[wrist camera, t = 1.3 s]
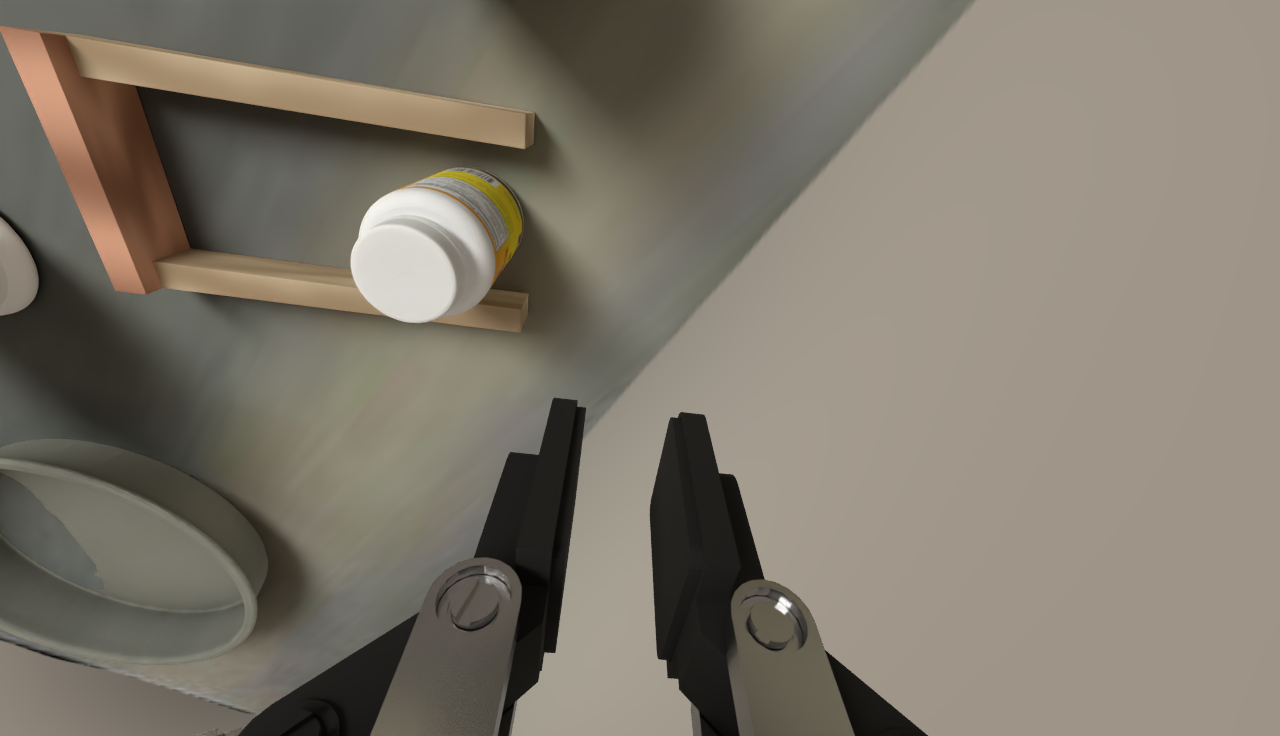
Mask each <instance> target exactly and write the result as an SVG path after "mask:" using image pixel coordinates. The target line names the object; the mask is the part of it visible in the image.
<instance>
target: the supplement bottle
mask: <svg viewBox="0 0 1280 736" xmlns="http://www.w3.org/2000/svg"><path fill="white" fill-rule="evenodd" d="M523 232H524V218H523V213H522V209H521V206H520V204H519V201H518V199H517V198H516V196H515V194H514V193H513V191H512V190H511V189H510V188H509V186H508V185H507V184H506V183H504V182H503V181H502V180H501V179H500V178H498V177H497V176H496V175H494V174H492V173H490V172H488V171H486V170H483V169H480V168H476V167H470V166H460V167H455V168H451V169H447V170H445V171H442V172H440V173H437V174H435V175H432V176H430V177H427V178H425V179H422V180H420V181H417V182H415V183H412V184H410V185H407V186H405V187H402V188H400V189H397V190H395V191H393V192H391V193H389V194H387V195H385V196H383V197H382V198H380V199H379V200H378V201H376V202H375V203H374V204H373V205H372V206H371V207H370V209H369V210H368V211H367V213H366V214H365V216H364V218H363V221H362V224H361V227H360V231H359V239H358V240H357V242H356V243H355V245H354V248H353V250H352V254H351V271H352V275H353V278H354V281H355V283H356V285H357V287H358V289H359V291H360V292H361V294H362V295H363V296H364V297H365V299H366V300H367V301H368V302H369V303H370V304H371V305H372V306H374V307H375V308H376V309H377V310H379V311H380V312H382V313H383V314H385V315H387V316H389V317H391V318H394V319H396V320H399V321H403V322H408V323H424V322H429V321H432V320H435V319H437V318H439V317H450V316H455V315H458V314H461V313H464V312H466V311H468V310H470V309H471V308H473V307H474V306H475V305H477V304H478V303H479V302H480V301H481V300H482V299H483V297H484V296H485V295H486V294H487V292H488V291H489V289H490V288H491V287H492V285H493V284H494V282H495V281H496V279H497V278H498V276H499V275H500V274H501V272H502V271H503V269H504V268H505V266H506V265H507V263H508V262H509V261H510V259H511V258H512V256H513V255H514V253H515V252H516V250H517V249H518V247H519V245H520V243H521V240H522V237H523Z"/></svg>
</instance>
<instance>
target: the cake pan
mask: <svg viewBox="0 0 1280 736" xmlns="http://www.w3.org/2000/svg"><path fill="white" fill-rule="evenodd" d="M0 473H1V474H4V475H6V476H8V477H10V478H12V479H14V480H17V481H19V482H20V483H21V484H22V485H24V486H25V487H26V488H27V489H28V490H30V491H31V492H32V493H33V494H34V496H35V498H37V499H38V500H40V501H41V502H42V503H43V505H44V507H45V508H46V510H48V511H49V512H50V513H52V514H53V515H55V516H56V517H57V518H59V519H60V521H61V522H62V523H63V524H64V525H65V527H66V528H67V529H68V530H69V532H70V533H71V534H72V535H73V537H74V538H75V539H76V540H77V542H78V543H79V544H80V545H81V547H82V548H83V549H84V551H85V552H86V553H87V554H88V556H89V557H90V558H91V559H92V561H93V562H94V563H95V565H96V570H98V571H97V572H96V573H95V574H94V575H95V576H97V577H99V578H101V579H103V584H104V589H92V590H95V591H99V592H95V591H92V590H89V589H90V588H89V589H86V588H84V587H81V586H79V585H77V584H75V583H72V582H70V581H68V580H66V579H64V578H62V577H60V576H58V575H56V574H54V573H53V572H51V571H49V570H47V569H46V568H44V567H42V566H41V565H39V564H37V563H36V562H34V561H33V560H31V559H30V558H28V557H27V556H25V555H24V554H23V552H22V551H21V550H18V549H16V548H15V547H14V546H13V545H12V544H11V543H10V542H8V541H7V540H6V539H5V538H4V537H3V536H2V535H1V534H0V629H1V630H3V631H6V632H8V633H10V634H13V635H15V636H18V637H21V638H23V639H26V640H29V641H32V642H35V643H37V644H40V645H43V646H47V647H50V648H53V649H56V650H60V651H64V652H68V653H72V654H76V655H80V656H85V657H89V658H94V659H100V660H106V661H112V662H120V663H129V664H141V665H176V664H187V663H193V662H199V661H204V660H208V659H211V658H214V657H217V656H220V655H222V654H225V653H227V652H229V651H231V650H233V649H234V648H236V647H238V646H239V645H240V644H241V643H242V642H244V641H245V640H246V639H247V637H248V636H249V635H250V634H251V632H252V630H253V629H254V626H255V623H256V619H257V612H258V607H257V596H258V594H259V592H260V590H261V588H262V586H263V584H264V581H265V579H266V577H267V573H268V557H267V553H266V550H265V547H264V544H263V542H262V540H261V538H260V536H259V535H258V533H257V532H256V530H255V529H254V527H253V526H252V525H251V524H250V522H249V521H248V520H247V519H246V518H245V517H244V516H243V515H242V514H241V513H240V512H239V511H238V510H237V509H236V508H235V507H234V506H233V505H232V504H231V503H229V502H228V501H227V500H226V499H224V498H223V497H222V496H220V495H219V494H218V493H216V492H215V491H214V490H212V489H211V488H209V487H208V486H206V485H204V484H203V483H201V482H200V481H198V480H196V479H194V478H193V477H191V476H189V475H187V474H185V473H183V472H181V471H179V470H177V469H175V468H173V467H171V466H169V465H167V464H165V463H162V462H160V461H157V460H155V459H152V458H149V457H147V456H144V455H141V454H138V453H135V452H132V451H129V450H125V449H121V448H118V447H114V446H109V445H105V444H100V443H94V442H89V441H81V440H72V439H36V440H28V441H22V442H17V443H14V444H10V445H7V446H4V447H1V448H0Z"/></svg>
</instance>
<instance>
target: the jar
mask: <svg viewBox="0 0 1280 736" xmlns="http://www.w3.org/2000/svg"><path fill="white" fill-rule="evenodd" d="M38 285H39V278H38V272H37V268H36V265H35V262H34V260H33V258H32V256H31V254H30V252H29V250H28V249H27V247H26V246H25V244H24V243H23V241H22V240H21V238H20V237H19V236H18V235H17V233H16V232H15V231H14V230H13V229H12V228H11V227H10V225H9V224H8V223H7V222H6V221H4V220H3V219H2V218H1V217H0V316H1V315H7V314H12V313H15V312H18V311H20V310H22V309H24V308H26V307H27V306H28V305H29V304H30V303H31V302H32V301H33V300H34V298H35V296H36V294H37V291H38Z"/></svg>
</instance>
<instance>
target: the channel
mask: <svg viewBox="0 0 1280 736" xmlns="http://www.w3.org/2000/svg"><path fill="white" fill-rule="evenodd" d="M0 31H1V33H2V36H3V38H4V40H5V42H6V45H7V47H8V49H9V51H10V54H11V56H12V58H13V60H14V63H15V65H16V67H17V69H18V72H19V74H20V76H21V78H22V81H23V83H24V85H25V88H26V90H27V92H28V94H29V97H30V99H31V101H32V103H33V106H34V108H35V110H36V112H37V115H38V117H39V119H40V121H41V124H42V126H43V128H44V130H45V133H46V135H47V137H48V139H49V142H50V144H51V146H52V149H53V151H54V153H55V155H56V158H57V160H58V162H59V164H60V167H61V169H62V171H63V173H64V176H65V178H66V180H67V182H68V185H69V187H70V189H71V191H72V194H73V196H74V198H75V200H76V203H77V205H78V207H79V210H80V212H81V214H82V216H83V219H84V221H85V223H86V225H87V228H88V230H89V232H90V234H91V237H92V239H93V241H94V243H95V246H96V248H97V250H98V252H99V255H100V257H101V259H102V261H103V264H104V266H105V268H106V271H107V273H108V275H109V277H110V280H111V282H112V284H113V286H114V289H115V291H122V292H130V293H138V294H149V293H151V292H153V291H156V290H158V289H161V288H168V289H176V290H184V291H192V292H200V293H208V294H216V295H224V296H232V297H240V298H248V299H256V300H264V301H271V302H279V303H287V304H295V305H303V306H311V307H319V308H327V309H335V310H343V311H351V312H359V313H367V314H375V315H383V316H387V315H385V314H383V313H382V312H380V311H379V310H377V309H376V308H375V307H374V306H372V305H371V304H370V303H369V302H368V301H367V300H366V299H365V297H364V296H363V295H362V294H361V292H360V291H359V289H358V287H357V285H356V283H355V281H354V278H353V275H352V271H351V270H349V269H341V268H334V267H326V266H319V265H312V264H304V263H297V262H289V261H282V260H274V259H267V258H259V257H252V256H245V255H237V254H230V253H222V252H215V251H207V250H200V249H192V248H190V246H189V243H188V240H187V237H186V234H185V231H184V228H183V225H182V222H181V219H180V216H179V213H178V210H177V207H176V204H175V201H174V198H173V196H172V193H171V190H170V187H169V184H168V181H167V178H166V175H165V172H164V169H163V166H162V163H161V160H160V157H159V154H158V151H157V148H156V145H155V143H154V140H153V137H152V134H151V131H150V128H149V125H148V122H147V119H146V116H145V113H144V110H143V107H142V104H141V101H140V98H139V95H138V92H137V89H136V87H135V85H137V86H143V87H149V88H155V89H161V90H167V91H173V92H179V93H186V94H192V95H198V96H204V97H210V98H216V99H222V100H228V101H234V102H241V103H247V104H253V105H259V106H265V107H271V108H277V109H283V110H289V111H296V112H302V113H308V114H314V115H320V116H326V117H332V118H338V119H344V120H351V121H357V122H363V123H369V124H375V125H381V126H387V127H393V128H399V129H406V130H412V131H418V132H424V133H430V134H436V135H442V136H448V137H454V138H461V139H467V140H473V141H479V142H485V143H491V144H497V145H503V146H509V147H516V148H522V149H526V148H528V147H529V146H531V145H533V144H534V121H535V112H529V111H523V110H518V109H512V108H506V107H500V106H494V105H488V104H483V103H477V102H471V101H465V100H459V99H454V98H448V97H442V96H436V95H430V94H424V93H419V92H413V91H407V90H401V89H395V88H389V87H384V86H378V85H372V84H366V83H360V82H354V81H349V80H343V79H337V78H331V77H325V76H319V75H314V74H308V73H302V72H296V71H290V70H284V69H279V68H273V67H267V66H261V65H255V64H249V63H244V62H238V61H232V60H226V59H220V58H214V57H209V56H203V55H197V54H191V53H185V52H179V51H174V50H168V49H162V48H156V47H150V46H144V45H139V44H133V43H127V42H121V41H115V40H109V39H104V38H98V37H92V36H86V35H77V34H68V33H59V32H50V31H41V30H32V29H23V28H14V27H5V26H0ZM528 298H529V294H528V293H520V292H513V291H505V290H498V289H489V291H488V292H487V294H486V295H485V296H484V297H483V299H482V300H481V301H480V302H479V303H478V304H477V305H475V306H474V307H473V308H471V309H470V310H468V311H466V312H464V313H461V314H458V315H455V316H450V317H439V318H437V319H435V320H432V321H430V322H438V323H446V324H454V325H462V326H470V327H478V328H486V329H494V330H502V331H510V332H517V333H520V332H521V329H522V327H523V325H524V323H525V321H526V319H527V316H528Z"/></svg>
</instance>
